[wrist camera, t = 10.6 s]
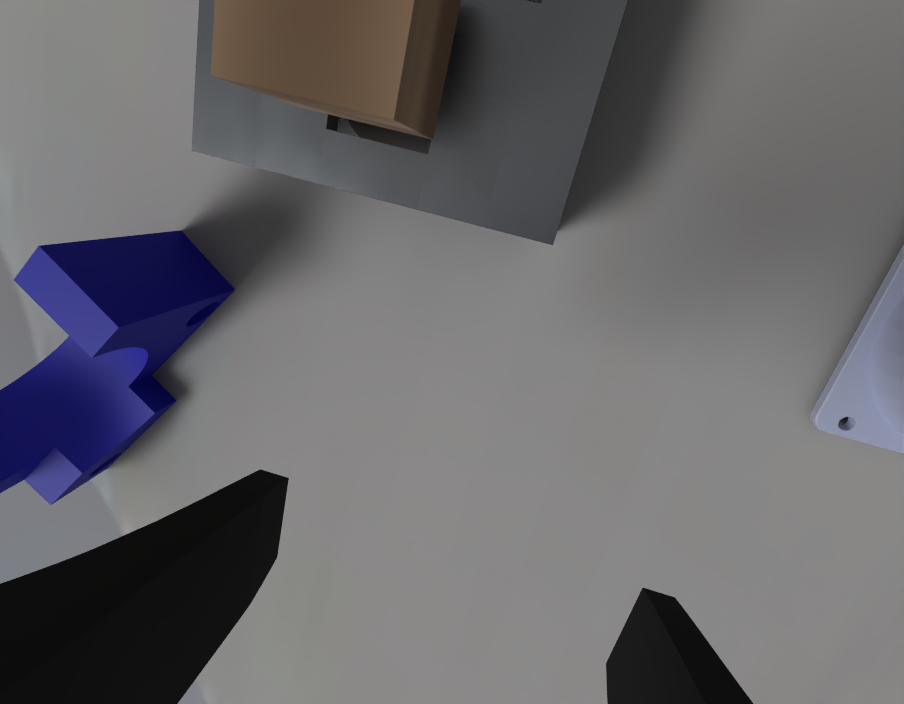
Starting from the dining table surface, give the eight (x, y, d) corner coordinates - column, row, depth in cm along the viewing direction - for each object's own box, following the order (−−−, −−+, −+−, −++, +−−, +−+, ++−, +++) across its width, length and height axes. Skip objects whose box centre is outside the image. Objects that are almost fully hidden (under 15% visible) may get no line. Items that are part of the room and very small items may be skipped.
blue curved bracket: (108, 467, 24) (-25, 553, 18) (37, 398, 23) (-124, 466, 17) (263, 317, 20) (156, 366, 14) (183, 230, 19) (38, 245, 14)
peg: (514, 11, 15) (491, -177, 7) (474, 179, 17) (422, 169, 9) (360, -22, 15) (186, -235, 8) (337, 145, 17) (175, 107, 9)
